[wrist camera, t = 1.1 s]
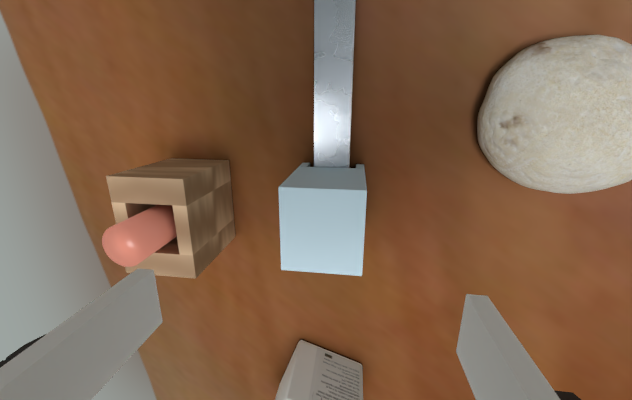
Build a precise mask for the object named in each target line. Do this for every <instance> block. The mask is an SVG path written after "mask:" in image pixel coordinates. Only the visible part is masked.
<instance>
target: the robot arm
mask: <svg viewBox="0 0 632 400" xmlns="http://www.w3.org/2000/svg"><path fill="white" fill-rule="evenodd" d="M161 323H162V316H161V310H160V304H159V298H158V292H157V287H156V281H155V275H154V270H151V269H136V270H135V271H134V272H132V273H131V274H129V275H128V276H127V277H125V278H124V279H122V280H121V281H120V282H118V283H117V284H116V285H114V286H113V287H111V288H110V289H109V290H107V291H106V292H105V293H103V294H102V295H100V296H99V297H98V298H96V299H95V300H93V301H92V302H91V303H89V304H88V305H86V306H85V307H84V308H82V309H81V310H80V311H78V312H77V313H76V314H74V315H73V316H71V317H70V318H68V319H67V320H66V321H64V322H63V323H62V324H60V325H59V326H58V327H56V328H55V329H53V330H52V331H51V332H49V333H48V334H46V335H43V336H41V337H39V338H37V339H35V340H33V341H31V342H29V343H27V344H25V345H24V346H22V347H21V348H19V349H18V350H17V351H15V352H14V353H12V354H11V355H9V356H8V357H7V358H6V360H5V361H1V362H0V400H91V399H92V398H93V397H94V396H95V395H96V394H97V393H98V392H99V391H100V390H101V389H102V387H103V386H104V385H105V384H106V383H107V382H108V381H109V380H110V379H111V378H112V377H113V375H114V374H115V373H116V372H117V371H118V370H119V369H120V368H121V367H122V366H123V364H124V363H125V362H126V361H127V360H128V359H129V358H130V357H131V356H132V355H133V354H134V352H135V351H136V350H137V349H138V348H139V347H140V346H141V345H142V344H143V343H144V342H145V341H146V339H147V338H148V337H149V336H150V335H151V334H152V333H153V332H154V331H155V330H156V329H157V327H158V326H159V325H160V324H161ZM456 353H457V355H458V357H459V360H460V362H461V365H462V367H463V369H464V372H465V374H466V377H467V379H468V382H469V384H470V386H471V389H472V391H473V394H474V396H475V399H476V400H581V399H580V398H578V397H577V396H576V395H575V394H574V393H571V392H562V391H554V390H553V388H552V387H551V386H550V384H549V383H548V381H547V380H546V379H545V377H544V376H543V374H542V373H541V371H540V370H539V369H538V367H537V366H536V364H535V363H534V361H533V360H532V359H531V357H530V356H529V354H528V353H527V352H526V350H525V349H524V347H523V346H522V344H521V343H520V342H519V340H518V339H517V337H516V336H515V334H514V333H513V332H512V330H511V329H510V327H509V326H508V325H507V323H506V322H505V320H504V319H503V317H502V316H501V315H500V313H499V312H498V310H497V309H496V308H495V306H494V305H493V303H492V302H491V300H490V299H489V298H488V296H482V295H470V294H466V299H465V305H464V310H463V316H462V322H461V327H460V333H459V339H458V344H457V350H456Z"/></svg>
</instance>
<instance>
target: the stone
mask: <svg viewBox="0 0 632 400" xmlns="http://www.w3.org/2000/svg"><path fill="white" fill-rule="evenodd" d="M477 134H478V143H479V145H480V148H481V150H482V151H483V153H484V155H485V156H486V158H487V159H488V161H489V162H490V163H491V164H492V166H493V167H494V168H496V169H497V170H498V171H499V172H500V173H501V174H503V175H504V176H506V177H507V178H509V179H510V180H512V181H514V182H516V183H518V184H520V185H522V186H525V187H528V188H531V189H536V190H542V191H548V192H554V193H566V194H572V193H583V192H591V191H596V190H601V189H606V188H609V187H613V186H617V185H620V184H623V183H625V182H628V181H630V180H632V45H631V44H629V43H627V42H625V41H623V40H621V39H618V38H615V37H608V36H602V35H585V36H569V37H560V38H555V39H550V40H546V41H543V42H539V43H537V44H534V45H532V46H529V47H527V48H525V49H523V50H522V51H520V52H519V53H518V54H516V55H515V56H514V57H513V58H512V59H510V60H509V61H508V62H507V63H506V64H505V65H504V66H503V67H502V68H500V69H499V70H498V71H497V73H496V74H495V75H494V77H493V78H492V80H491V83H490V85H489V87H488V90H487V93H486V96H485V99H484V101H483V103H482V105H481V107H480V110H479V113H478V124H477Z"/></svg>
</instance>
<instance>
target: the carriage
mask: <svg viewBox="0 0 632 400" xmlns="http://www.w3.org/2000/svg"><path fill="white" fill-rule="evenodd" d="M366 199H367V186H366V178H365V169H364V164H356V168H331V167H310V163H302V164H301V165H300V166H299V167H298V168H297V169H296V170H295V171H294V172H293V173H292V174H291V175H290V176H289V177H288V178H287V179H286V180H285V181H284V182H283V183H282V184H281V185H280V186H279V217H280V247H281V270H290V271H303V272H316V273H329V274H343V275H356V276H362V267H363V250H364V233H365V216H366Z"/></svg>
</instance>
